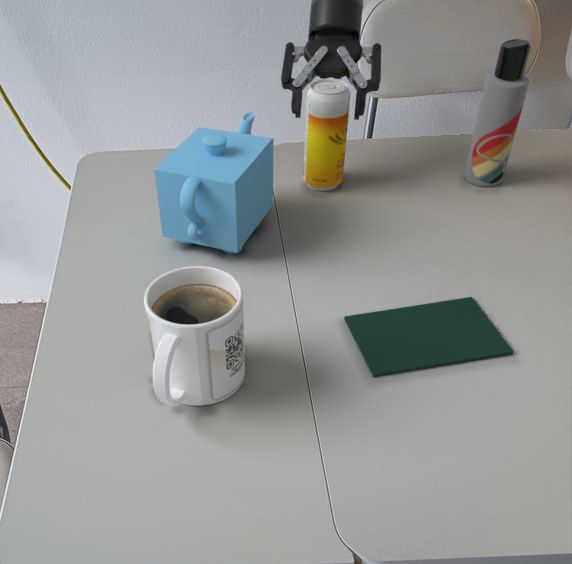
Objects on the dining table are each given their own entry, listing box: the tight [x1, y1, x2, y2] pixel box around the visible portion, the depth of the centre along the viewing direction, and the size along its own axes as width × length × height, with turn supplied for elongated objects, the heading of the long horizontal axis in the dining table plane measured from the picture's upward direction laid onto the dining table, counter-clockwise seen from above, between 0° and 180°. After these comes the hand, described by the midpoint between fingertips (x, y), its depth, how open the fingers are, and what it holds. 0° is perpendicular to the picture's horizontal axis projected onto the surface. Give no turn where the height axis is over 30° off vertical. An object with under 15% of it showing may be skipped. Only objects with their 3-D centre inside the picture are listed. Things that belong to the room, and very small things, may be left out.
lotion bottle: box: [463, 38, 532, 188], centre depth 93 cm, size 6×6×20 cm
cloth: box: [343, 296, 514, 378], centre depth 74 cm, size 16×10×1 cm, turn 100°
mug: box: [143, 265, 246, 407], centre depth 67 cm, size 10×12×11 cm
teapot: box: [154, 111, 275, 254], centre depth 88 cm, size 22×11×14 cm, turn 156°
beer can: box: [302, 78, 351, 192], centre depth 96 cm, size 6×6×15 cm
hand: (327, 116), depth 94 cm, fingers open, 8 cm apart
